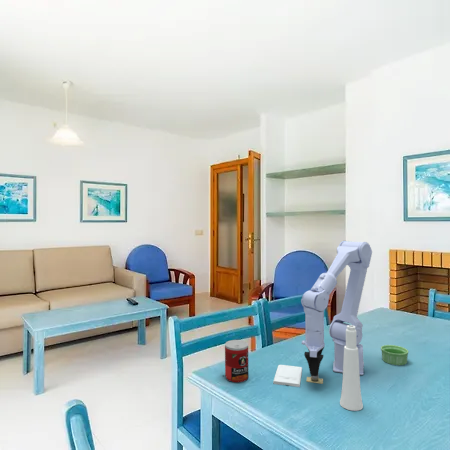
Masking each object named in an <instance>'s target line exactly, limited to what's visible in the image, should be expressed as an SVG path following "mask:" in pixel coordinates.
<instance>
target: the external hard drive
mask: <svg viewBox="0 0 450 450" xmlns="http://www.w3.org/2000/svg"><path fill="white" fill-rule="evenodd" d="M302 374H303V367H302V366H296V365H287V364H278V365H277V369H276V372H275V375H274V378H273V381H272V382H273V385H279V386H288V387H297V388H300V387H301V381H302Z"/></svg>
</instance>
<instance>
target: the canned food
mask: <svg viewBox="0 0 450 450" xmlns="http://www.w3.org/2000/svg"><path fill="white" fill-rule="evenodd" d="M224 367H225V368H224V370H225V371H224V372H225V374H224V375H225V378H226V380H227V379H228V380H227V381H229V382H231V381H232V382H231V383H243V382H246V381H247V380H248V378H249V343H248V342H247V341H244V340H241V339H232V340H228V341H226V342H225V344H224Z"/></svg>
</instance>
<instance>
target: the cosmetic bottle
mask: <svg viewBox="0 0 450 450" xmlns="http://www.w3.org/2000/svg"><path fill="white" fill-rule="evenodd" d="M360 376H361V375H360V374H359V355H358V348H357V347H356V330H355V326H353V325H352V324H349V325H347V329H346V346H344V361H343V373H342V385H341V391H340V392H341V393H340V399H339V405H340V406H341V407H342V408H343V409H345V410H348V411H353V412H356V411H357V412H358V411H361V410H363V408H364V405H363V399H362V393H361V391H362V390H361V378H360Z"/></svg>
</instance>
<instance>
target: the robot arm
mask: <svg viewBox="0 0 450 450" xmlns="http://www.w3.org/2000/svg"><path fill="white" fill-rule="evenodd" d="M372 255H373V250H372V247H371V245H370V244H369V242H367V241H349V240H348V241H347V240H343V241H340V242H339V244H338V246H337V247H336V255H335V257H334V259H333V260H332V263H331V264H330V265H329V266H330V267H329V268H328V270H327V271H326V272H323V273H321V274H320V275H319V276H318V278H317V280H316V281H315V283H314V284H313V285H312V287H311V288H310V289H309V290H307V291H305V292H304V293H303V295H302V297H301V299H300V303H301V305H302V307H303V312H304V314H305V315H304V317H305V326H304V327H305V328H304V329H305V332H304V334H305V337H304V338H305V340H301V345H304V346H306V348H307V349H308V351H304V357H305V359H306V362H307V365H308V369H309V374H310V377H311V376H318V373H319V371H320V366H321V363H322V360H323V358H324V354H322V353H323V351H324V349H325V345H326V344H325V311H326V309H327V307H328V305H329V300H330V295H331V293H332V292H333V291H334V289H335V287H336V286H337V284H338V281H337V278H338V276H339V275H340V274H341V273H342V272H343V271H344V269H345V268H346V267H347V266H348V267H349V269H350V270H349V274H348V279H347V283H346V284H347V285H346V287H345V288H346V289H345V294H344V298H343V300H342V301H343V302H342V306H341V310H340V312H339V313H337V314H336V315H334V316H333V319H332V320H331V323H330V325H329V328H328V334H329V337H331V338H332V342H334V343H333V344H334V353H333V355H334V356H333V357H334V361H332V362H333V363H332V365H333V367H332V371H333V372H334V373H342V374H343V361H344V346H346V329H347V325H353V326H355V330H356V347H357V348H358V355H359V374H360V376H364V366H365V362H364V345H363V344H362V343H361V342H362V339H363V323H362V322H361V320H360V319H359V318H358V312H359V308H360V304H361V299H362V296H363V290H364V286H365V282H366V276H367V272H368V268H369V267H370V263H371V260H372ZM319 374H320V373H319Z"/></svg>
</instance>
